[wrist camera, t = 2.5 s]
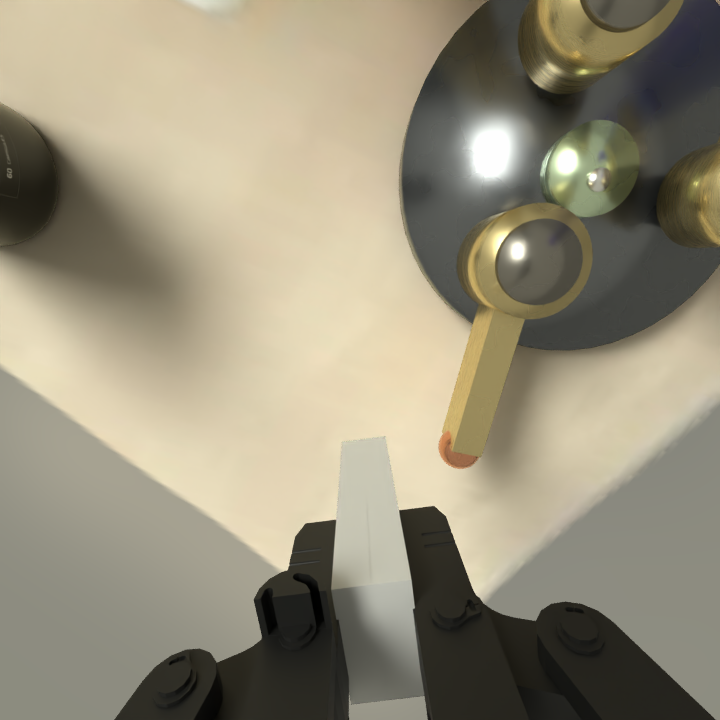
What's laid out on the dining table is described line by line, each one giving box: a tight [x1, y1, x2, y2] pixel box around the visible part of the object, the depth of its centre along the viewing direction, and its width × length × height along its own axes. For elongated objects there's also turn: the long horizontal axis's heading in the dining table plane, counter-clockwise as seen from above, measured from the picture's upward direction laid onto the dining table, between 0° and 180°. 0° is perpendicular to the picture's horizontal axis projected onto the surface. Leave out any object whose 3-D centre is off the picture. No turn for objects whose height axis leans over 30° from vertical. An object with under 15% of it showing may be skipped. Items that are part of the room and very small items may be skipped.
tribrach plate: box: [399, 0, 720, 350], centre depth 19 cm, size 17×17×3 cm
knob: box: [439, 203, 593, 469], centre depth 18 cm, size 12×4×4 cm, turn 168°
